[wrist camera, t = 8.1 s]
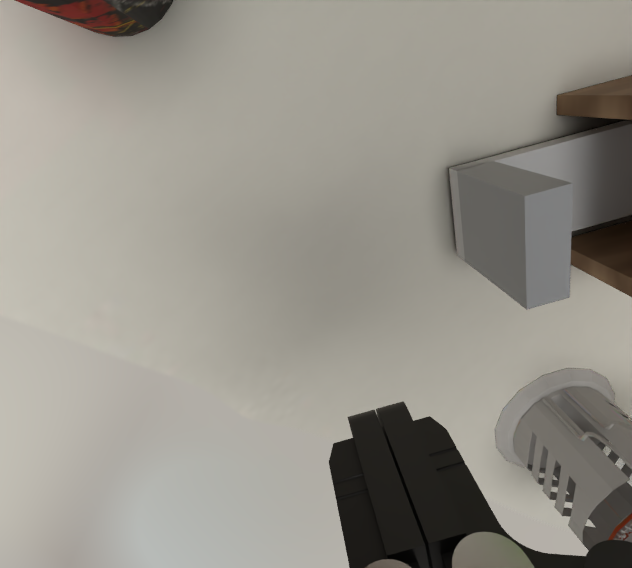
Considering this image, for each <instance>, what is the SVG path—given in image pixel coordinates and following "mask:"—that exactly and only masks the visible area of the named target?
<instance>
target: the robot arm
mask: <svg viewBox="0 0 632 568" xmlns="http://www.w3.org/2000/svg"><path fill="white" fill-rule="evenodd" d="M376 411H377V415H376V412H375V410H371V411H368V412H364V413H361V414H357V415H354V416H350V417H348V420H349V424H350V427H351V431H352V435H353V438H351V439H348V440H344V441H341V442H337V443H334V444H333V448H332V452H331V456H330V460H329V465H330V470H331V475H332V480H333V485H334V490H335V495H336V500H337V506H338V511H339V516H340V521H341V526H342V531H343V536H344V541H345V546H346V551H347V556H348V561H349V567H350V568H632V542H628V541H623V540H606V541H602V542H600V543H597V544H596V545H594V546H593V547H592V548H591V549H590V550H589V552H588V553H587V555H586V556H573V555H559V554H548V553H542V552H538V551H535V550H532V549H530V548H527V547H525V546H523V545H522V544H520V543H518V542H517V541H515V540H514V539H513V538H512V537H510V536H509V535H508V534H507V533H506V532H505V531H504V529H503V528H502V527H501V525H500V524H499V523H498V521H497V519H496V517H495V515H494V514H493V512H492V510H491V508H490V507H489V505H488V503H487V501H486V499H485V498H484V496H483V494H482V492H481V490H480V489H479V487H478V485H477V483H476V482H475V480H474V478H473V476H472V474H471V473H470V471H469V469H468V467H467V465H465V463H464V460H463V458H462V457H461V455H460V453H459V451H458V450H457V449H456V446H455V444H454V442H453V440H452V439H451V437H450V435H449V433H448V432H447V430H446V429H445V428H444V427H443V426H442V425H440V424H439V423H438V422H436V421H435V420H434V419H433V418H431V417H430V416H429V417H426V418H422V419H419V420H415V421H413V420H412V417H411V415H410V413H409V411H408V409H407V407H406V405H405V403H404V402H400V403H396V404H392V405H389V406H385V407H382V408H378V409H376ZM377 416H378V417H377Z"/></svg>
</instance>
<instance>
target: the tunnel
mask: <svg viewBox="0 0 632 568" xmlns="http://www.w3.org/2000/svg"><path fill="white" fill-rule="evenodd" d="M557 115H567V116H582V117H597V118H612V119H626V120H632V75H631V76H627V77H623V78H620V79H616V80H612V81H608V82H605V83H601V84H597V85H593V86H590V87H586V88H582V89H578V90H575V91H571V92H567V93H563V94H560V95H557ZM571 265H573V266H575V267H576V268H578V269H580V270H582V271H584V272H586V273H588V274H590V275H591V276H593V277H595V278H597V279H599V280H601V281H603V282H605V283H606V284H608V285H610V286H612V287H614V288H616V289H618V290H620V291H622V292H623V293H625V294H627V295H629V296H631V297H632V220H631V221H628V222H624V223H620V224H617V225H613V226H610V227H606V228H602V229H599V230H595V231H592V232H588V233H584V234H581V235H577V236H574V237H571Z"/></svg>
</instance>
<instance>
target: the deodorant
mask: <svg viewBox="0 0 632 568" xmlns="http://www.w3.org/2000/svg"><path fill="white" fill-rule="evenodd" d="M15 1H18V2H20V3H23V4H25V5H28V6H30V7H33V8H35V9H38V10H40V11H43V12H45V13H48V14H51V15H53V16H56V17H58V18H61V19H63V20H66V21H68V22H71V23H73V24H76V25H78V26H81V27H83V28H86V29H88V30H91V31H93V32H96V33H100V34H105V35H109V36H114V37H117V36H133V35H135V34H138V33H140V32H143V31H145V30H148V29H150V28H151V27H152V26H153V25H154V24H156V23H157V22H158V21H159V20H161V19H162V18H163V16H164V15H165V13H166V12H167V10H168V9H169V7H170V6H171V4H172V2H173V0H15Z"/></svg>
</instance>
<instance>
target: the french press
mask: <svg viewBox="0 0 632 568" xmlns="http://www.w3.org/2000/svg"><path fill="white" fill-rule="evenodd" d="M614 398H615V393H614V391H613V389H612V387H611V385H610V383H609V381H608V379H607V378H605V377H604V376H602V375H600V374H598V373H596V372H595V371H593V370H591V369H576V368H566V369H563V370H560V371H556V372H553V373H549V374H546V375H543V376H541V377H540V378H538V379H536V380H535V381H533V382H532V383H530V384H529V385H527V386H525V387H524V388H522V389H521V390H519V392H518V393H517V394H516V395H515V396H514V397H513V398H512V400H511V401H510V402H509V403H508V404H507V405H506V406H505V408H504V409H503V410H502V413H501V415H500V418H499V420H498V423H497V426H496V428H495V437H496V448H497V449H498V450H499V452H500V453H501V454H502V456H503V457H504V458H505V459H506V461H509V462H511V463H513V464H516V465H518V466H521V467H523V468H527V469H528V470H529V471H532V476H533V477H534V479H535V480H536V482H537V483H538V484H540V485H543V492H544V493H545V494H546V495H547V496H548V498H549V499H551V500H556V503H555V508H556V509H557V510H558V512H559V513H560V514H561V515H562V516H571V518H570V521H569V524H568V526H569V527H570V528H571V530H572V531H573V532H574V533H575V535H576V536H577V537H578V538H579V540H580V541H581V542H582V543H583V544H584V546H585V547H586V548H587V549H588V550H590V549H591V548H592V547H593V546H594V545H596V544H597V543H600V542H602V541H606V540H623V541H628V542H632V487H631V486H630V485H629V484H628V483H627V481H629V480H630V479H629V477H630V475H631V474H632V421H631V420H629V419H628V417H629V416H628V415H627V414H625V413H624V412H623V411H622V410H621V409H619V408H618V407H617V406H616V405H615V404H614ZM629 418H630V417H629ZM630 419H631V418H630ZM609 441H610V442H611V443H612V444H613V445H612V444H611V443H610V442H609ZM606 445H607V446H608V447H609V448H610V449H611V450H612V451H611V452H610V454H609V455H608V457H607V456H606V455H605V453H604V452H603V451H602V450H603V449H604V447H605V446H606ZM619 457H620V458H621V459H622V460H623V461H624V462H625V465H624V466H623V468H622V469H621V470H620V469H619V468H618V467H617V466H616V465H615V463H616V461H617V460H618V458H619ZM539 472H540V473H545V479H544V478H539ZM553 475H555V477H556V478H557V479H558V480H559V481H558V480H552V478H553ZM551 486H552V487H558V492H557V493H555V492H551ZM566 491H567V492H568V493H569V494H570V495H568V494H566ZM565 501H566V502H572V503H573V505H572V509H571V508H564V503H565ZM587 519H590V520H591V522H592V523H593V524H594V525H595V527H596V528H595V527H588V526H585V524H586V522H587Z"/></svg>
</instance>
